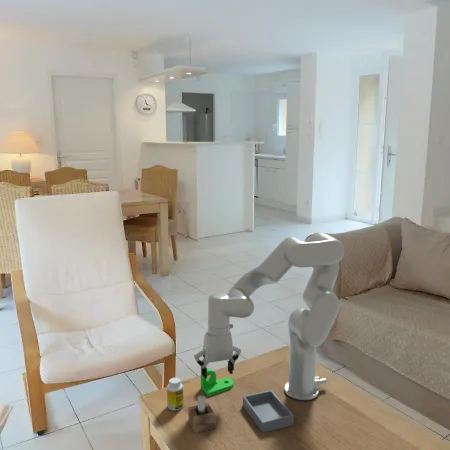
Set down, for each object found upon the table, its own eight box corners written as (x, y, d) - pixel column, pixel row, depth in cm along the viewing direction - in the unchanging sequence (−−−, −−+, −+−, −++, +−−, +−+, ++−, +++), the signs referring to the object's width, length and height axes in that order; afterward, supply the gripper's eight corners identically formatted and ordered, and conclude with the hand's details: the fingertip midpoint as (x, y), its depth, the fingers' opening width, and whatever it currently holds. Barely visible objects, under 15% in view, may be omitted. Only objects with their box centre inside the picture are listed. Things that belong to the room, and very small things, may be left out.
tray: (271, 399, 166) (271, 390, 166) (293, 425, 152) (293, 415, 151) (242, 405, 163) (242, 396, 162) (262, 432, 148) (262, 422, 147)
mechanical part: (208, 397, 168) (208, 377, 166) (200, 390, 173) (200, 370, 171) (236, 388, 174) (236, 369, 172) (228, 381, 179) (228, 362, 177)
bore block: (208, 416, 156) (208, 403, 155) (215, 428, 150) (215, 414, 149) (188, 420, 154) (188, 407, 153) (194, 433, 148) (194, 419, 147)
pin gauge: (204, 421, 154) (203, 394, 152) (206, 425, 151) (206, 398, 149) (197, 423, 153) (196, 396, 151) (199, 427, 150) (199, 399, 149)
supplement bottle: (176, 413, 158) (175, 386, 156) (164, 408, 161) (163, 381, 159) (186, 405, 163) (186, 379, 161) (174, 400, 166) (173, 374, 164)
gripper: (237, 322, 166) (236, 366, 169) (191, 327, 160) (190, 373, 163) (245, 330, 159) (244, 375, 162) (198, 336, 153) (197, 384, 156)
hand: (217, 374), depth 162 cm, fingers open, 9 cm apart
